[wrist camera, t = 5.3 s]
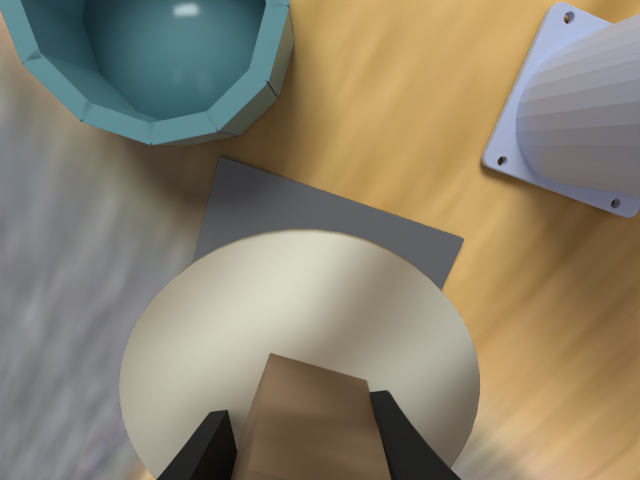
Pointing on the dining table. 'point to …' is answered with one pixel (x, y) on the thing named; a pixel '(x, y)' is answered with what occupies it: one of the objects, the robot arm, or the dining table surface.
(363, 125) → the dining table surface
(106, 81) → the bowl
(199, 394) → the lid
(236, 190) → the mat
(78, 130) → the dining table surface
